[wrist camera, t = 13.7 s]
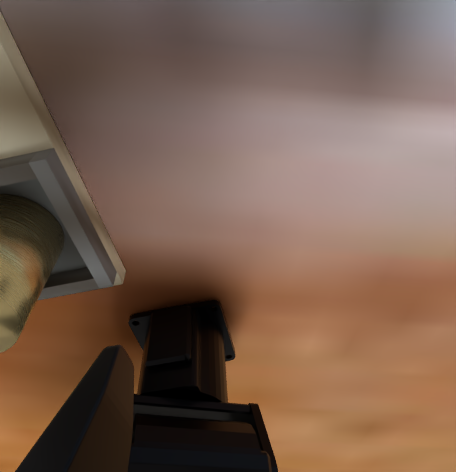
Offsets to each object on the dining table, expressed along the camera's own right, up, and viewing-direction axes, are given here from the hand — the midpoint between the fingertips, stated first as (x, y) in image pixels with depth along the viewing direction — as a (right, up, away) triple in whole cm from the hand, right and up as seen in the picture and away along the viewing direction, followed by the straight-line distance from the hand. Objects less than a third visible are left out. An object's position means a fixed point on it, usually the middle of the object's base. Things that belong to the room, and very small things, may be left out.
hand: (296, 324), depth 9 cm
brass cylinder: (-13, +2, +11) cm, 17 cm away
